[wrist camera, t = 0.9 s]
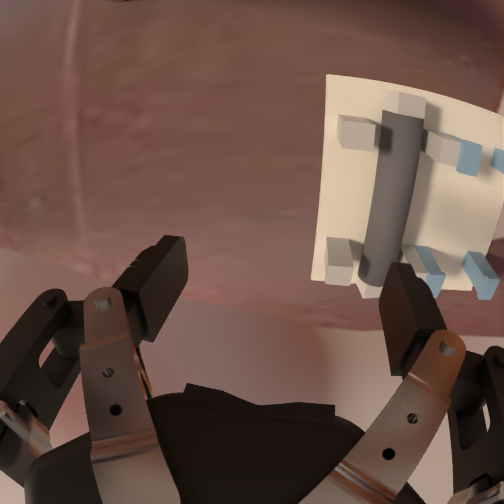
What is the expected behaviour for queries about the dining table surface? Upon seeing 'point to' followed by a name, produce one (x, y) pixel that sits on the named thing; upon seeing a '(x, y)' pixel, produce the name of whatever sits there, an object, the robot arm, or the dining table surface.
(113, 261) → the dining table surface
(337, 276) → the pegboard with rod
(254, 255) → the dining table surface
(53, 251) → the dining table surface
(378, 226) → the dark grey dowel
